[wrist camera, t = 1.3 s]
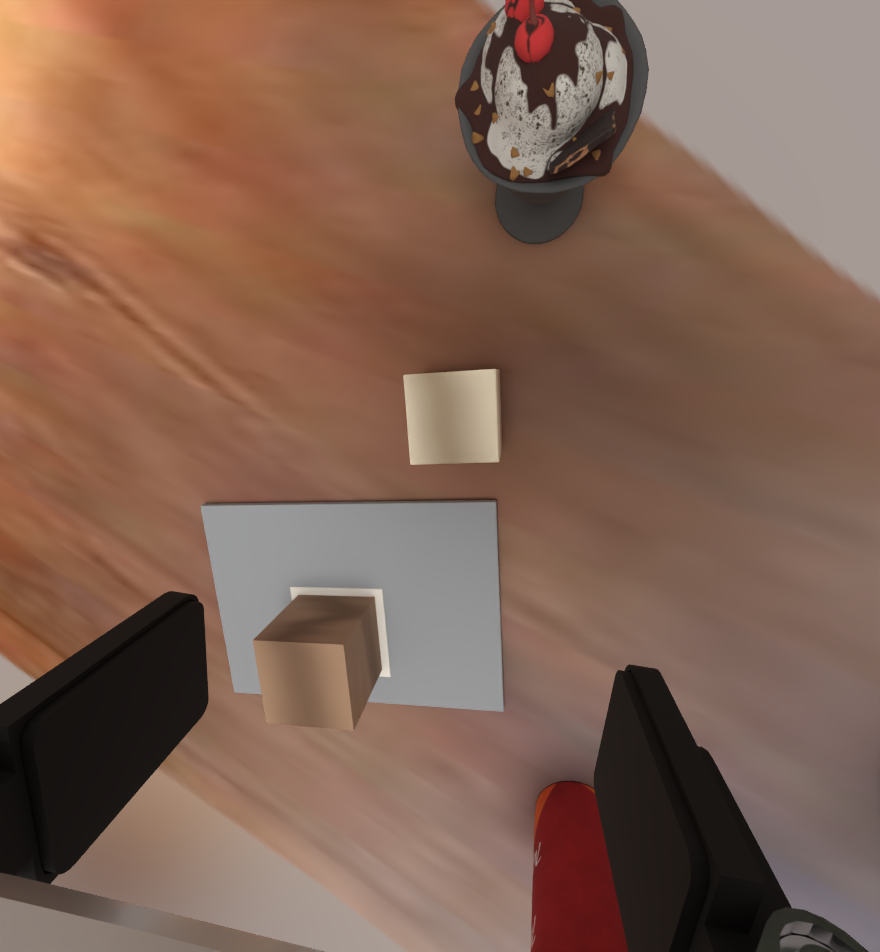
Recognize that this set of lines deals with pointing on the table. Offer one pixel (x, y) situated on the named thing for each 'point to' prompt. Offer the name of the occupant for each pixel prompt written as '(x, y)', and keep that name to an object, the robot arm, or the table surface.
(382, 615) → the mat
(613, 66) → the sundae
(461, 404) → the birch block
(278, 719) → the walnut block
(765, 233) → the table surface
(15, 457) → the table surface
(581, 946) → the paper cup
